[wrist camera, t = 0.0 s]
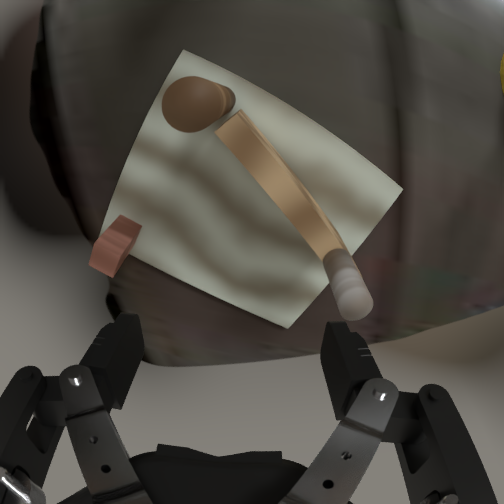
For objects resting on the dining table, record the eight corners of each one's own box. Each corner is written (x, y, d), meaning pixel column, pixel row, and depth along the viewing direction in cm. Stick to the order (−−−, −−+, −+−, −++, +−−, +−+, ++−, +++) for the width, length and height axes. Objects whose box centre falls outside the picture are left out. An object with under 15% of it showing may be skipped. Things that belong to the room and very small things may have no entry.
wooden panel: (223, 122, 27) (196, 149, 14) (242, 107, 26) (233, 118, 13) (322, 242, 34) (359, 338, 21) (339, 230, 33) (387, 321, 20)
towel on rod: (185, 51, 24) (123, 15, 10) (399, 186, 32) (480, 255, 18) (101, 234, 35) (36, 316, 21) (287, 323, 42) (299, 422, 28)
